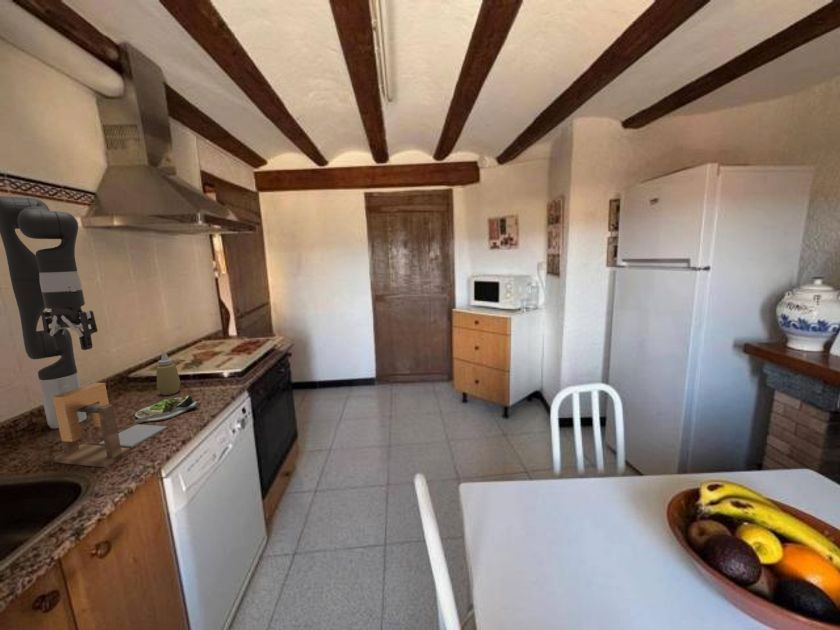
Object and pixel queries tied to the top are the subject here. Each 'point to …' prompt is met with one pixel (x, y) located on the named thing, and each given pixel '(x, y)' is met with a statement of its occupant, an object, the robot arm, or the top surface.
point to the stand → (95, 453)
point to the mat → (137, 434)
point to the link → (76, 400)
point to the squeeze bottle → (167, 376)
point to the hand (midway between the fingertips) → (74, 348)
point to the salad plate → (166, 409)
